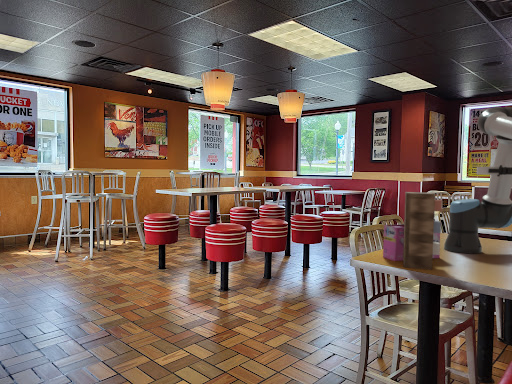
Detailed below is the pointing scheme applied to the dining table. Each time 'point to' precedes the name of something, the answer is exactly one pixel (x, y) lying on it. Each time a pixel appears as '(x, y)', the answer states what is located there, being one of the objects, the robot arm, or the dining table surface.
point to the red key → (438, 205)
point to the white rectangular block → (436, 248)
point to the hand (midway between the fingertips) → (477, 170)
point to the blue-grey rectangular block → (437, 227)
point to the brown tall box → (418, 230)
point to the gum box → (398, 242)
